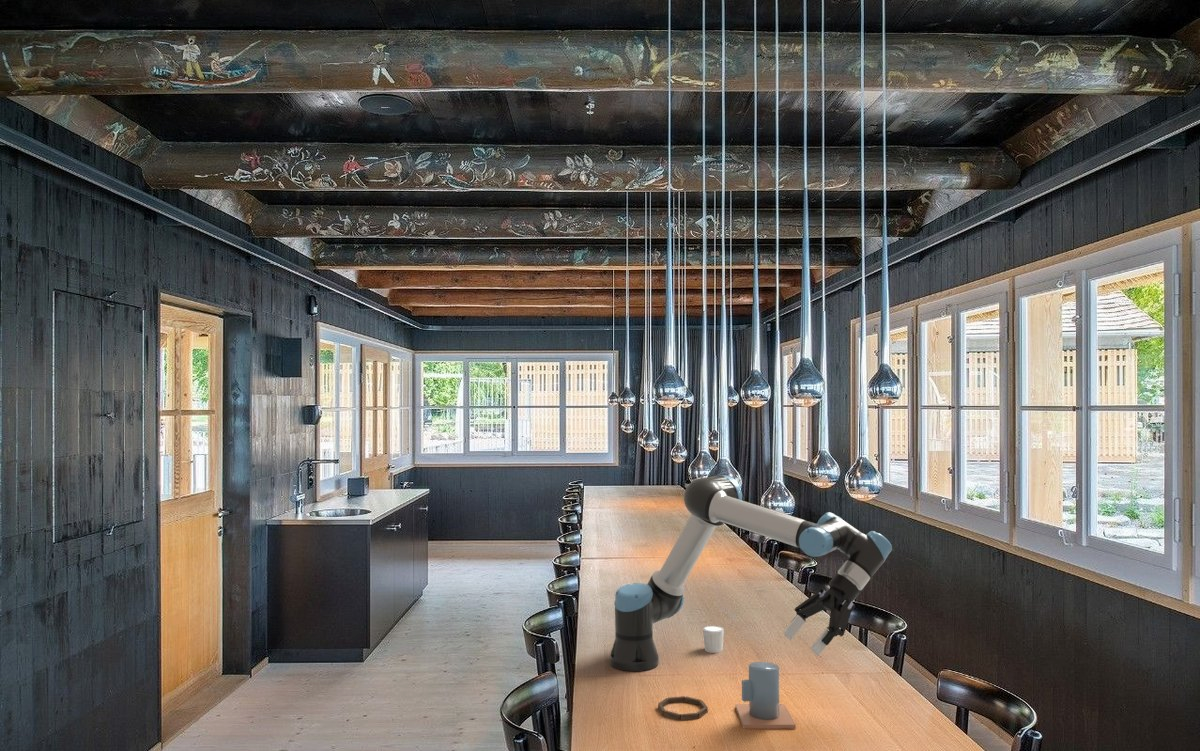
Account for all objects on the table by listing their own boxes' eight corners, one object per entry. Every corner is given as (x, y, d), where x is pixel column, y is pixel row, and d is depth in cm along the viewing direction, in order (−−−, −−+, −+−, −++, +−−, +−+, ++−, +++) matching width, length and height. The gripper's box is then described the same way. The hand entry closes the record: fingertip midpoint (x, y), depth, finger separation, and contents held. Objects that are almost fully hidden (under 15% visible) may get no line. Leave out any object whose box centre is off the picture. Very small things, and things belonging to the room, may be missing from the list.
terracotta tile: (735, 707, 207) (735, 704, 207) (784, 707, 207) (784, 704, 207) (743, 728, 194) (743, 724, 194) (795, 728, 194) (795, 724, 194)
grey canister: (770, 706, 205) (769, 660, 206) (785, 717, 198) (784, 670, 198) (736, 711, 202) (735, 664, 203) (750, 722, 195) (749, 674, 195)
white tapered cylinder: (710, 645, 260) (709, 624, 260) (728, 649, 255) (727, 627, 255) (699, 650, 254) (698, 629, 254) (717, 654, 250) (717, 632, 250)
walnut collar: (673, 697, 214) (673, 693, 214) (713, 707, 207) (713, 702, 207) (651, 712, 204) (651, 708, 204) (692, 723, 197) (692, 718, 197)
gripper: (886, 603, 197) (836, 669, 193) (830, 581, 221) (784, 639, 216) (868, 583, 196) (817, 649, 191) (814, 563, 220) (767, 622, 215)
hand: (799, 644), depth 204 cm, fingers open, 13 cm apart
